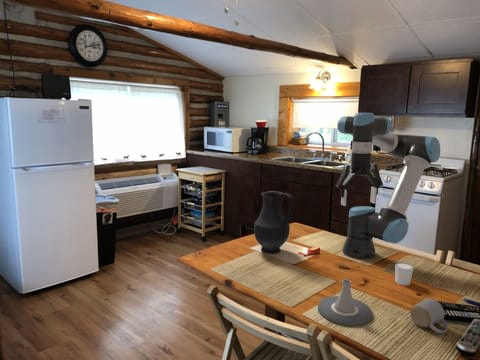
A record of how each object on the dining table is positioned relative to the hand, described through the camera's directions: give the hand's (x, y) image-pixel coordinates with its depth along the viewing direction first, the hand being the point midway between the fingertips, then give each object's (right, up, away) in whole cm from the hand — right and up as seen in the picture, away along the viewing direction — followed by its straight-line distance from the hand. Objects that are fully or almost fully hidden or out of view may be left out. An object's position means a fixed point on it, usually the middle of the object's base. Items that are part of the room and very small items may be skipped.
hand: (358, 204), depth 153 cm
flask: (-12, -35, -24) cm, 44 cm away
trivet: (-12, -35, -24) cm, 45 cm away
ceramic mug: (+13, -38, -31) cm, 51 cm away
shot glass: (+18, -32, -1) cm, 37 cm away
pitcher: (-32, -25, +30) cm, 50 cm away
